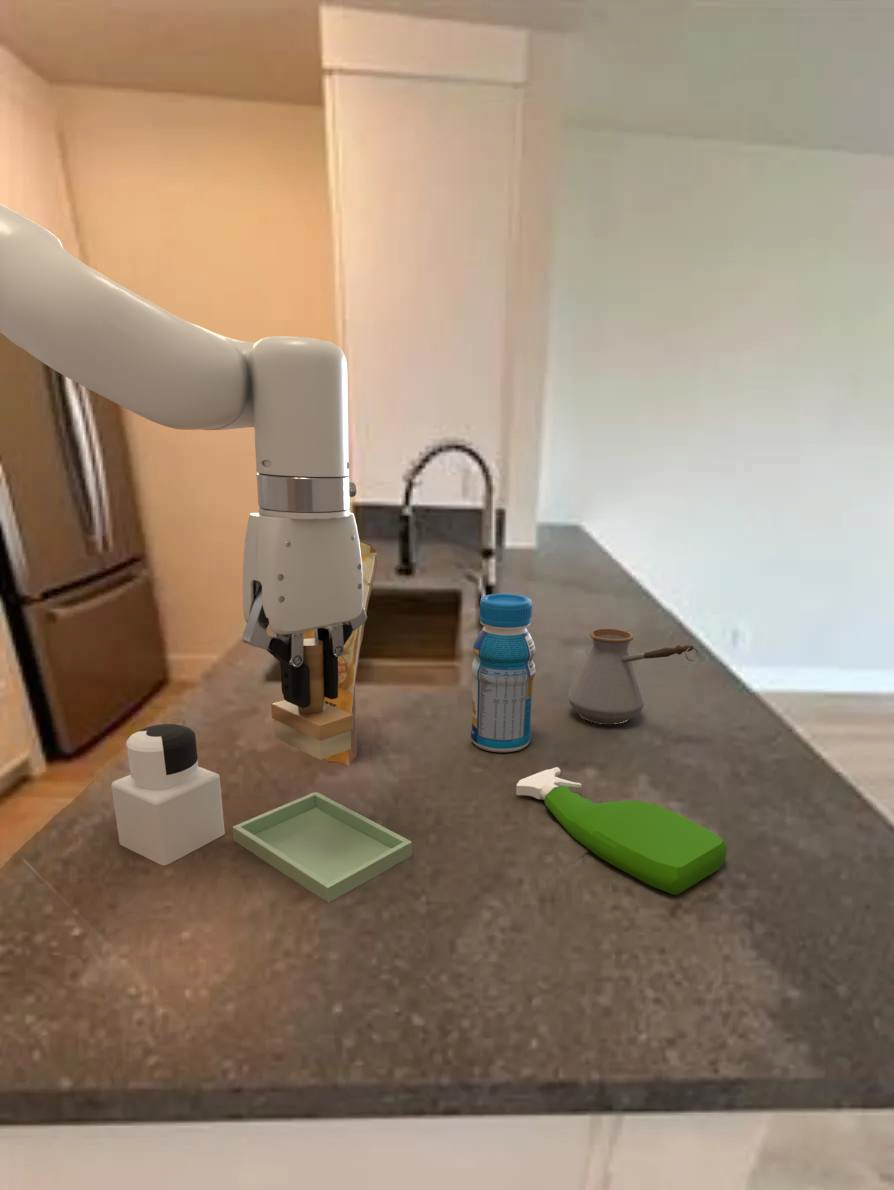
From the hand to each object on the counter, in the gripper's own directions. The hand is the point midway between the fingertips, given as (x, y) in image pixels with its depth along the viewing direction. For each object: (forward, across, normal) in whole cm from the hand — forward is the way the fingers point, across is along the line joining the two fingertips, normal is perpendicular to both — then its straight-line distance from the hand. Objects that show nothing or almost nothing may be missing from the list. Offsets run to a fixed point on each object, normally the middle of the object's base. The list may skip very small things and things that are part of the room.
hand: (311, 697), depth 67 cm
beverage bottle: (+16, -33, -4) cm, 37 cm away
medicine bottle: (+17, +8, -12) cm, 22 cm away
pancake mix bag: (+16, -17, -20) cm, 31 cm away
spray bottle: (+16, -23, +19) cm, 34 cm away
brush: (+5, 0, 0) cm, 5 cm away
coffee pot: (+16, -50, +6) cm, 53 cm away
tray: (+16, 0, 0) cm, 16 cm away
